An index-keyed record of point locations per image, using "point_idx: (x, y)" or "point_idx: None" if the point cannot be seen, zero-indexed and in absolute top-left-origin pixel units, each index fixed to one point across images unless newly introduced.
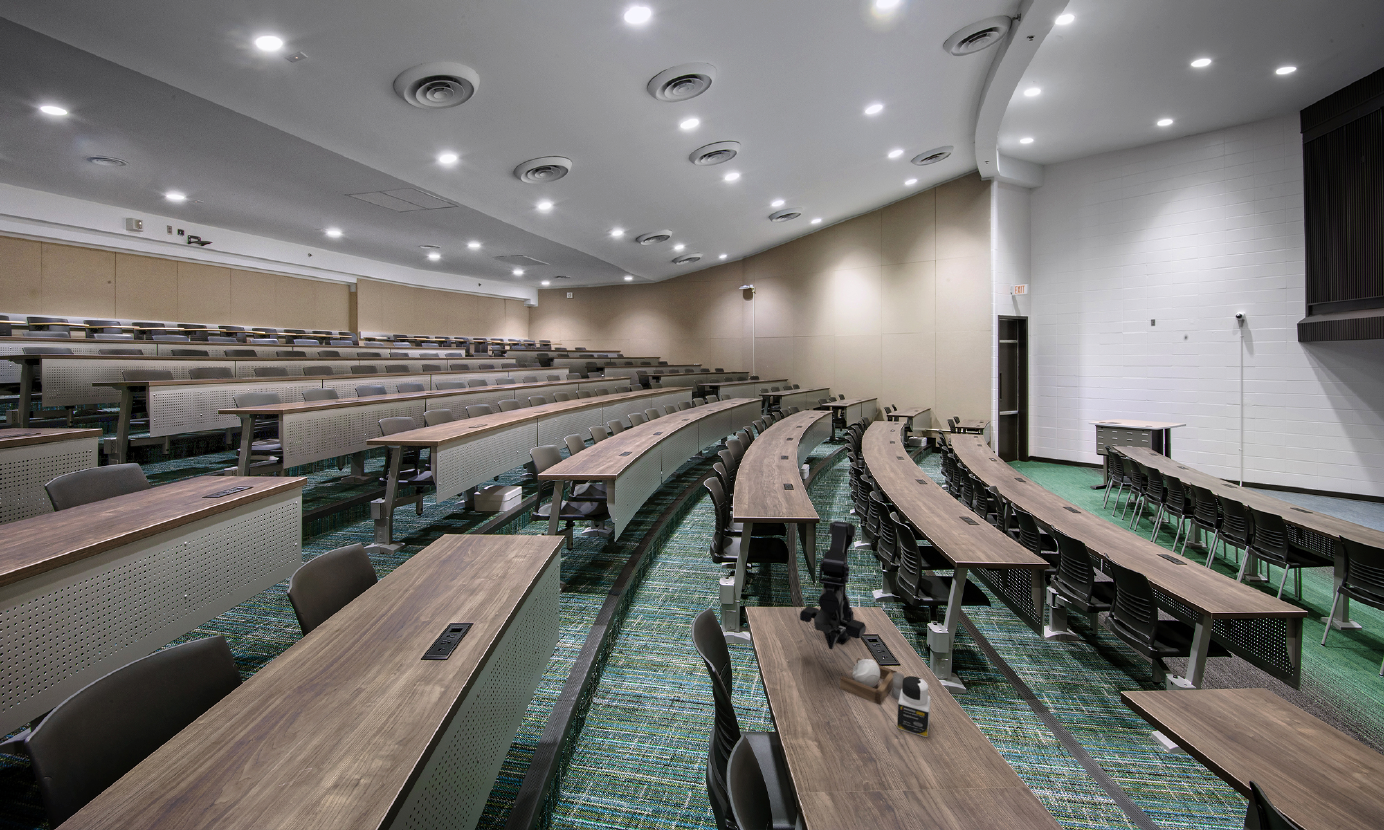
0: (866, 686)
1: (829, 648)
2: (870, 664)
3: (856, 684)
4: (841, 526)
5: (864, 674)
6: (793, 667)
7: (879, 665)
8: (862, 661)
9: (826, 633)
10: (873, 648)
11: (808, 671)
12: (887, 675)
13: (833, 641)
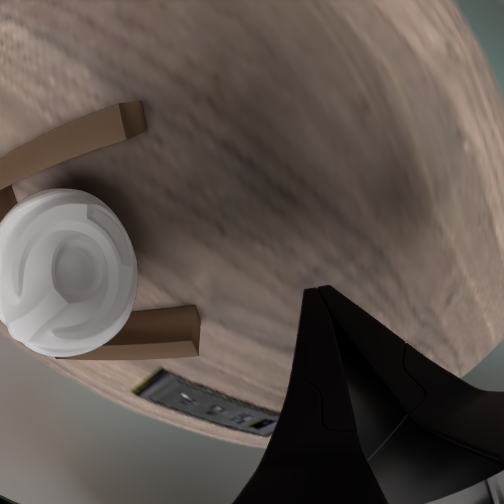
0: (4, 177)
1: (325, 285)
2: (2, 306)
3: (31, 144)
4: None
5: (3, 222)
6: (431, 104)
7: (107, 358)
8: (32, 304)
9: (430, 400)
10: (237, 409)
11: (365, 116)
12: None
13: (299, 360)
